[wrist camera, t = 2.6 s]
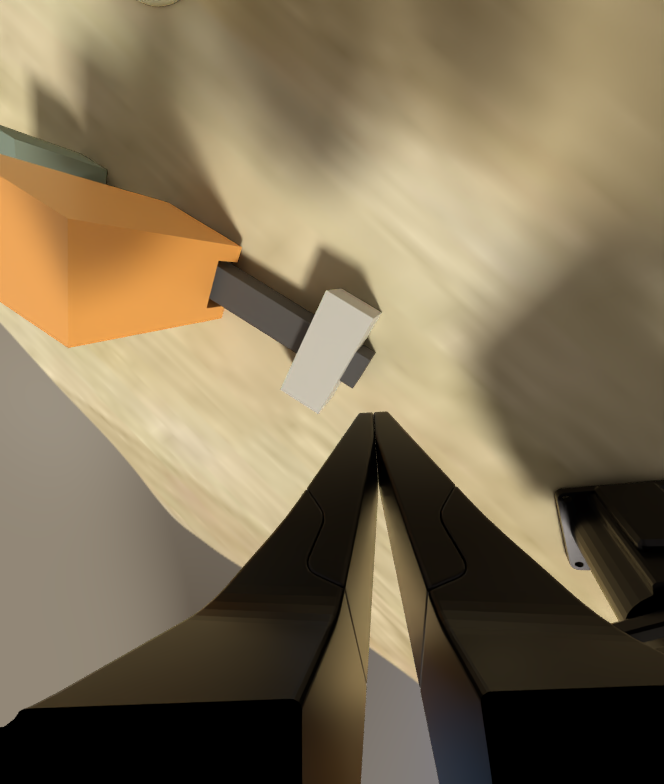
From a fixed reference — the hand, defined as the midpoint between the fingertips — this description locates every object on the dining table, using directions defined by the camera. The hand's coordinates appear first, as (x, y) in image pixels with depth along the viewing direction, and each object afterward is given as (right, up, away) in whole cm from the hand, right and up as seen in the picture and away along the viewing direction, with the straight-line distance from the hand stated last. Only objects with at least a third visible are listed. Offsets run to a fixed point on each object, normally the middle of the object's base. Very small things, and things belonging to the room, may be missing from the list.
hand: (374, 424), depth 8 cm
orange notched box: (-11, +10, +12) cm, 19 cm away
